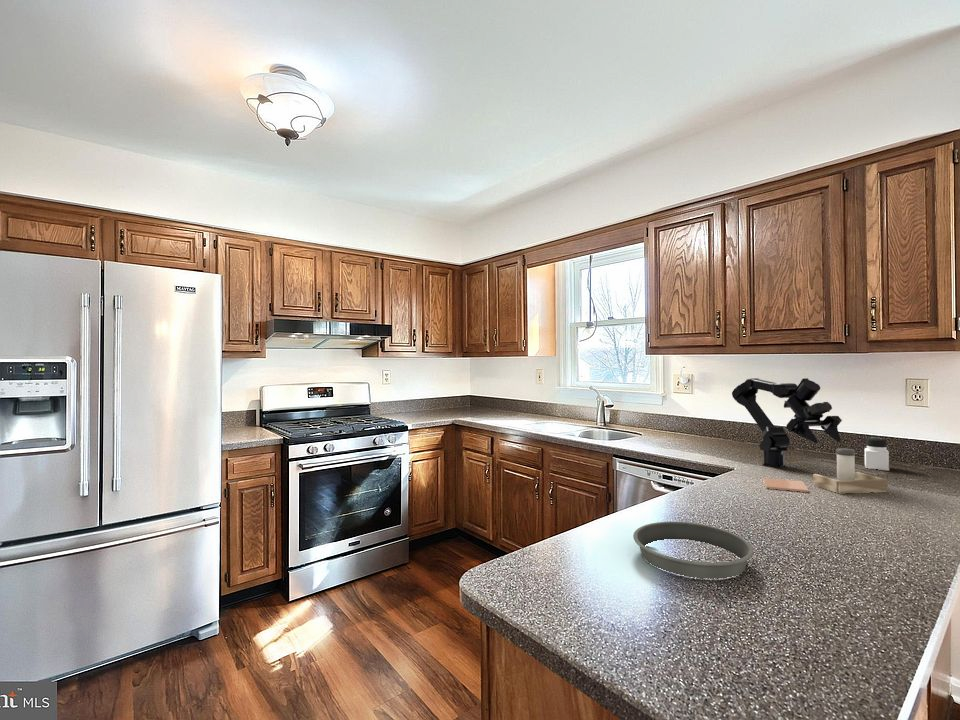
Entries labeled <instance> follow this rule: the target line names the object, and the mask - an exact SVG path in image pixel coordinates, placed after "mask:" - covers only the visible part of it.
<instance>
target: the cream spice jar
mask: <svg viewBox="0 0 960 720" xmlns="http://www.w3.org/2000/svg"><path fill="white" fill-rule="evenodd" d="M835 453H836V480H839V481H848V480H855V472H856V471H855V470H856V469H855V464H856V463H855V460H856V459H855V455H856V450H855V449H852V448H845V447H838V448H835Z"/></svg>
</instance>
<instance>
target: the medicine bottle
mask: <svg viewBox="0 0 960 720" xmlns="http://www.w3.org/2000/svg"><path fill="white" fill-rule="evenodd" d="M887 445H888V444H887V440H886V439H885V438H883V437H875V436H874V437H873V436H871V437H867V438H866V447H865V448H864V467H865V469H866V468H868V470H876V469H878V471H886V472H887V471H890V469H891V468H890V452H889V450H888V447H887Z"/></svg>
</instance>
